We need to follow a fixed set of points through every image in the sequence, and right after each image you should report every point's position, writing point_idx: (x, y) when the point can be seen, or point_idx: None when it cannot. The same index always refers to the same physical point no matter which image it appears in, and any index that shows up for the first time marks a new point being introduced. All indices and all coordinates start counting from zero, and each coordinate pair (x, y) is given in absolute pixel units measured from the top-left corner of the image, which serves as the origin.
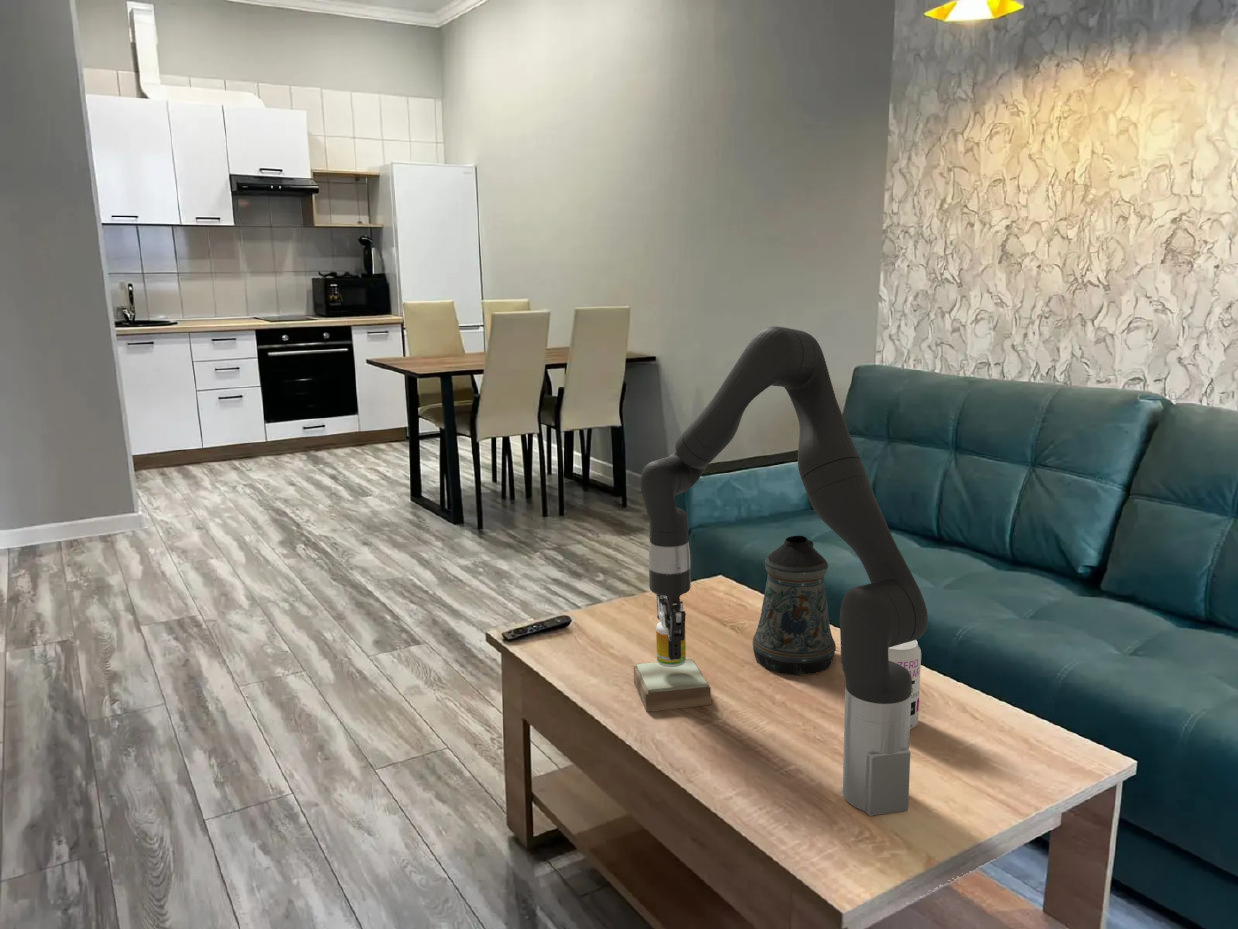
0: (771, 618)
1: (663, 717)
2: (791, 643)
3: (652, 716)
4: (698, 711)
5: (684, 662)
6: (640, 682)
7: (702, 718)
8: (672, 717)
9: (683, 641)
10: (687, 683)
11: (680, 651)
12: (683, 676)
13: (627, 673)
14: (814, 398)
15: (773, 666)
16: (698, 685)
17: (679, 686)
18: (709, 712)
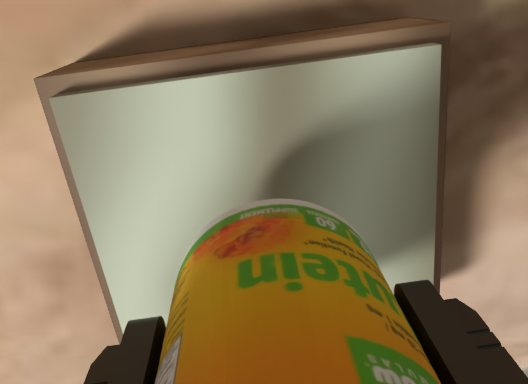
0: None
1: (463, 236)
2: None
3: (444, 273)
4: (453, 88)
5: (327, 209)
6: None
7: (521, 78)
8: (473, 203)
9: (394, 330)
10: (408, 164)
11: (452, 316)
12: (315, 178)
13: (57, 350)
14: None
15: None
16: (438, 101)
17: (434, 210)
18: (477, 35)
